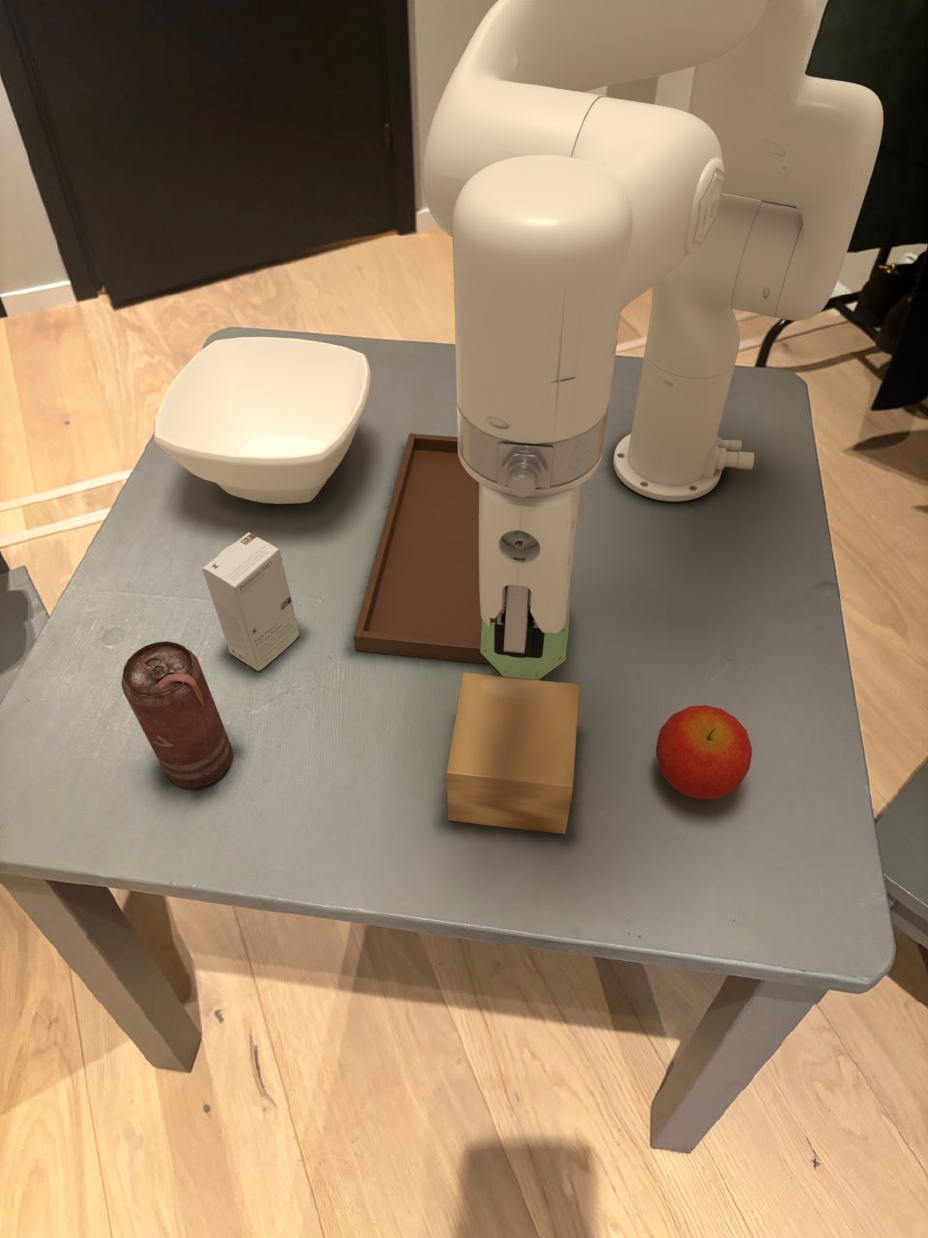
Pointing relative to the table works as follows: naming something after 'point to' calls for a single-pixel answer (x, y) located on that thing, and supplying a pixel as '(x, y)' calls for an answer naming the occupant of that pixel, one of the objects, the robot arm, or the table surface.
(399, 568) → the tray
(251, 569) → the cosmetic box
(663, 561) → the table surface
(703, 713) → the apple
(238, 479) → the bowl
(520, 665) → the green cup
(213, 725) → the can
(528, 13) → the robot arm
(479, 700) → the block
